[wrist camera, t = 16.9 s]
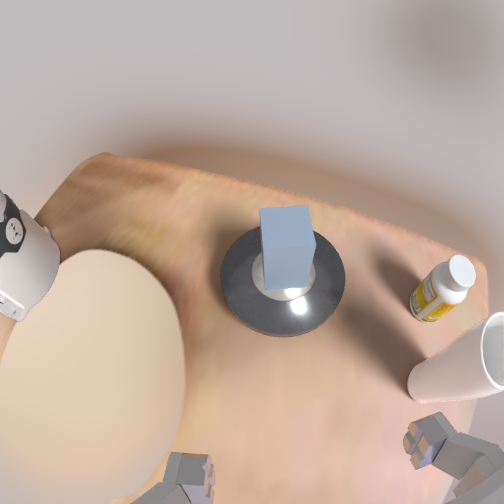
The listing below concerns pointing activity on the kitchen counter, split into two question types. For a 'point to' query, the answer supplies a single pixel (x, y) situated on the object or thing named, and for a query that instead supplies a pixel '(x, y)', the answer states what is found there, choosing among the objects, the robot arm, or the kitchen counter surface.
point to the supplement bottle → (442, 289)
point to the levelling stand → (281, 301)
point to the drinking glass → (463, 366)
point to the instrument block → (286, 247)
